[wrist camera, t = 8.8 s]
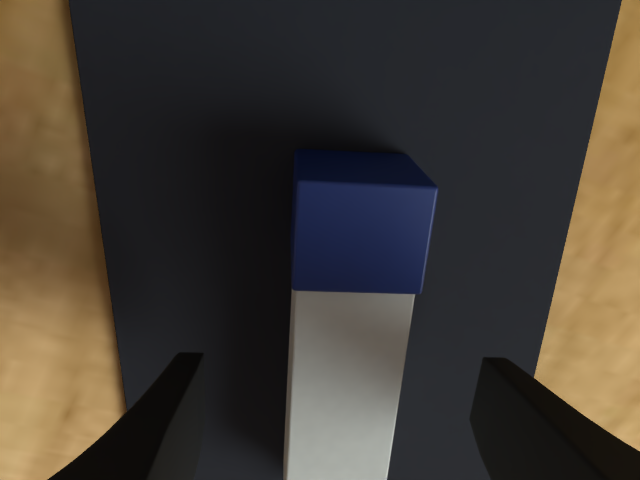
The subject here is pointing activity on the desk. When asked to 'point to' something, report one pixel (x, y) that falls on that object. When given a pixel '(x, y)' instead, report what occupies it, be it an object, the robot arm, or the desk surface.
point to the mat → (339, 135)
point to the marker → (351, 307)
